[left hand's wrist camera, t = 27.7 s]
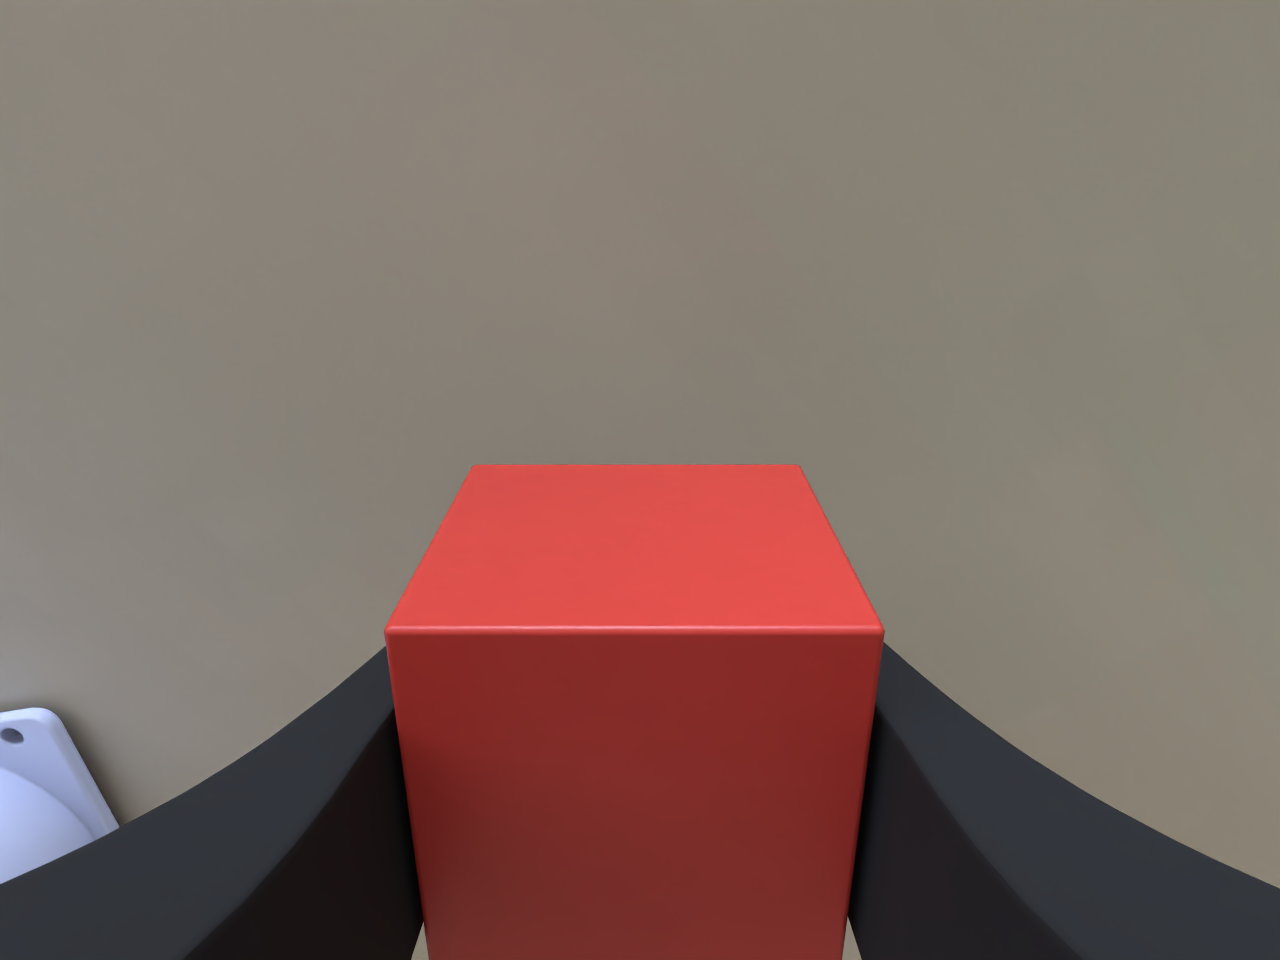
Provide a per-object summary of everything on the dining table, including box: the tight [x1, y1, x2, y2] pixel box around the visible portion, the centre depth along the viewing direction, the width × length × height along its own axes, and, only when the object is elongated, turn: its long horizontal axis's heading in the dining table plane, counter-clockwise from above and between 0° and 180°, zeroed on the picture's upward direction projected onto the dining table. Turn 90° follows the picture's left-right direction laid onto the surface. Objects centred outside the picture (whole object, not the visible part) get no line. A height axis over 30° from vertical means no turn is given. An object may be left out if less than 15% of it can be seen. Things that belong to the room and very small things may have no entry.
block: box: [384, 465, 885, 960], centre depth 11 cm, size 5×5×4 cm
